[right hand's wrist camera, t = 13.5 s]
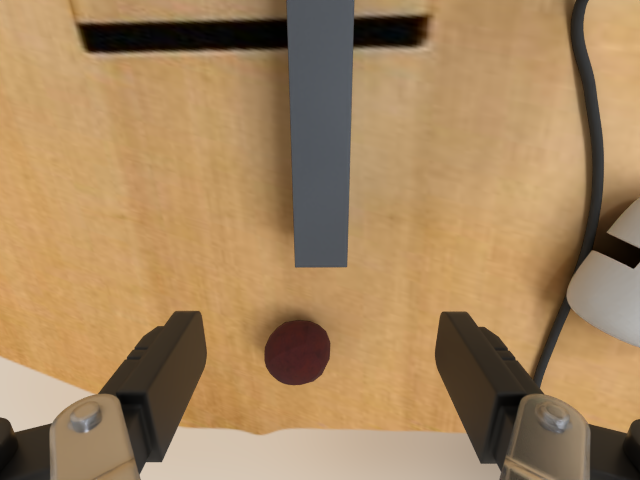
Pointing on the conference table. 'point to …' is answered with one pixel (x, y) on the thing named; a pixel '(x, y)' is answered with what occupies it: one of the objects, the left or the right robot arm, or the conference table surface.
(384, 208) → the conference table surface
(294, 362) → the potato
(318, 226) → the post
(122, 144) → the conference table surface
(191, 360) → the right robot arm
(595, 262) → the projector
